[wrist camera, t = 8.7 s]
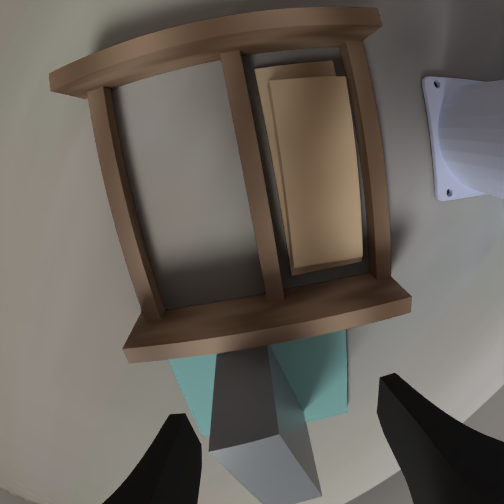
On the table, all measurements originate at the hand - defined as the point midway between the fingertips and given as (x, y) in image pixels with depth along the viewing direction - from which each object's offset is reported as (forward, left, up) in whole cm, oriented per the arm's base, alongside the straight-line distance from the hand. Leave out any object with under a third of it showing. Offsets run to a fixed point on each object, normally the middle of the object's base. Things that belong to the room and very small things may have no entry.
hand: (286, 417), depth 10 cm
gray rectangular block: (+1, +7, -9) cm, 12 cm away
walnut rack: (0, -7, -10) cm, 12 cm away
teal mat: (+1, +7, -10) cm, 12 cm away
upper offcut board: (-4, -7, -10) cm, 13 cm away
